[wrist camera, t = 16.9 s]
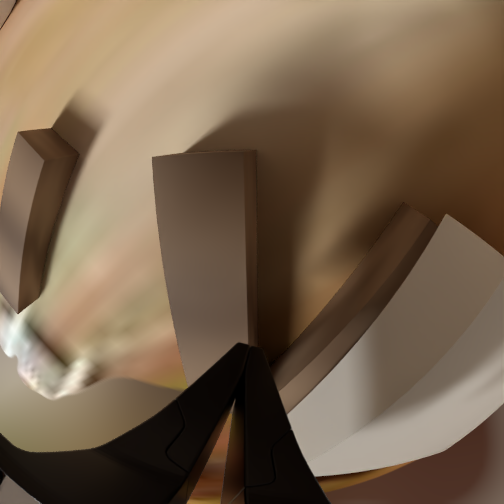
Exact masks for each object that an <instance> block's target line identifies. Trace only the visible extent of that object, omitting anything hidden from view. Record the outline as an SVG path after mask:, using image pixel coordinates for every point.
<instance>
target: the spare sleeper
mask: <svg viewBox="0 0 504 504" xmlns="http://www.w3.org/2000/svg"><path fill="white" fill-rule="evenodd" d="M79 155H80V154H79V153H78V152H77V151H76V150H75V149H73V148H72V147H71V146H70V145H69V144H68V143H67V142H66V141H65V140H63V139H62V138H61V137H60V136H59V135H58V134H57V133H56V132H55V131H54V130H53V129H51V128H48V129H37V130H28V131H20V132H18V133H17V136H16V139H15V143H14V146H13V150H12V154H11V157H10V161H9V165H8V170H7V174H6V179H5V184H4V189H3V195H2V201H1V208H0V292H1V294H2V295H3V296H4V298H5V299H6V300H7V302H8V303H9V304H10V305H11V307H12V308H13V309H14V310H15V311H16V313H17V314H19V313H20V312H21V311H23V310H24V309H25V308H26V307H28V306H29V305H30V304H31V303H33V302H34V301H35V300H37V299H38V298H39V294H40V287H41V281H42V276H43V271H44V266H45V261H46V256H47V252H48V248H49V244H50V240H51V236H52V232H53V228H54V225H55V221H56V218H57V215H58V211H59V208H60V205H61V202H62V199H63V196H64V193H65V190H66V188H67V185H68V182H69V179H70V177H71V174H72V172H73V169H74V167H75V164H76V162H77V159H78V157H79Z"/></svg>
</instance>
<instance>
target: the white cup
mask: <svg viewBox="0 0 504 504" xmlns="http://www.w3.org/2000/svg"><path fill="white" fill-rule="evenodd" d="M15 2H16V0H0V28H1V27H2V25H3V24H4V22H5V21H6V19H7V17H8V15H9V14H10V12H11V10H12V8H13V6H14V4H15Z"/></svg>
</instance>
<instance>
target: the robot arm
mask: <svg viewBox="0 0 504 504" xmlns="http://www.w3.org/2000/svg"><path fill="white" fill-rule="evenodd" d="M234 401H235V402H234ZM233 404H234V406H233ZM232 406H233V413H232V420H231V428H230V436H229V443H228V451H227V458H226V466H225V473H224V481H223V488H222V496H221V504H331V502H330V501H329V500H328V498H327V497H326V495H325V493H324V492H323V490H322V488H321V486H320V485H319V483H318V481H317V480H316V478H315V476H314V474H313V473H312V471H311V469H310V467H309V465H308V464H307V462H306V460H305V458H304V456H303V454H302V452H301V449H300V447H299V445H298V442H297V440H296V437H295V435H294V432H293V430H291V429H292V427H291V424H290V422H289V419H288V416H287V413H286V411H285V408H284V405H283V403H282V400H281V397H280V394H279V392H278V389H277V386H276V383H275V381H274V378H273V375H272V372H271V369H270V367H269V364H268V361H267V358H266V355H265V352H264V350H263V348H260V347H256V346H250V345H248V344H245V343H241V342H238V343H236V344H235V345H234V346H233V347H232V348H231V349H230V350H229V351H228V352H227V353H226V354H224V355H223V356H222V357H221V358H220V359H219V360H218V361H217V362H216V363H215V364H214V365H212V366H211V367H210V368H209V369H208V370H207V371H206V372H205V373H204V374H203V375H201V376H200V377H199V378H198V379H197V380H196V381H195V382H194V383H192V384H191V385H190V386H189V387H188V388H187V389H186V390H184V391H183V392H182V393H181V394H180V395H179V396H178V397H176V400H173V401H171V402H170V403H169V404H168V405H167V406H166V407H164V408H163V409H162V410H161V411H159V412H158V413H157V414H155V415H154V416H152V417H151V418H149V419H148V420H146V421H145V422H143V423H141V424H140V425H138V426H136V427H135V428H133V429H132V430H129V431H128V432H126V433H124V434H122V435H121V436H119V437H117V438H115V439H113V440H112V441H110V442H108V443H106V444H104V445H101V446H98V447H95V448H91V449H85V450H73V451H60V452H29V451H25V450H22V449H20V448H17V447H16V446H14V445H13V444H12V443H11V442H10V441H8V440H7V439H6V438H5V437H4V436H3V435H2V434H1V433H0V504H186V503H187V501H188V500H189V498H190V496H191V494H192V492H193V490H194V488H195V486H196V484H197V482H198V480H199V478H200V476H201V474H202V471H203V469H204V467H205V465H206V463H207V461H208V459H209V457H210V455H211V453H212V451H213V448H214V446H215V444H216V442H217V440H218V438H219V436H220V433H221V431H222V429H223V427H224V425H225V422H226V420H227V418H228V416H229V414H230V411H231V409H232Z"/></svg>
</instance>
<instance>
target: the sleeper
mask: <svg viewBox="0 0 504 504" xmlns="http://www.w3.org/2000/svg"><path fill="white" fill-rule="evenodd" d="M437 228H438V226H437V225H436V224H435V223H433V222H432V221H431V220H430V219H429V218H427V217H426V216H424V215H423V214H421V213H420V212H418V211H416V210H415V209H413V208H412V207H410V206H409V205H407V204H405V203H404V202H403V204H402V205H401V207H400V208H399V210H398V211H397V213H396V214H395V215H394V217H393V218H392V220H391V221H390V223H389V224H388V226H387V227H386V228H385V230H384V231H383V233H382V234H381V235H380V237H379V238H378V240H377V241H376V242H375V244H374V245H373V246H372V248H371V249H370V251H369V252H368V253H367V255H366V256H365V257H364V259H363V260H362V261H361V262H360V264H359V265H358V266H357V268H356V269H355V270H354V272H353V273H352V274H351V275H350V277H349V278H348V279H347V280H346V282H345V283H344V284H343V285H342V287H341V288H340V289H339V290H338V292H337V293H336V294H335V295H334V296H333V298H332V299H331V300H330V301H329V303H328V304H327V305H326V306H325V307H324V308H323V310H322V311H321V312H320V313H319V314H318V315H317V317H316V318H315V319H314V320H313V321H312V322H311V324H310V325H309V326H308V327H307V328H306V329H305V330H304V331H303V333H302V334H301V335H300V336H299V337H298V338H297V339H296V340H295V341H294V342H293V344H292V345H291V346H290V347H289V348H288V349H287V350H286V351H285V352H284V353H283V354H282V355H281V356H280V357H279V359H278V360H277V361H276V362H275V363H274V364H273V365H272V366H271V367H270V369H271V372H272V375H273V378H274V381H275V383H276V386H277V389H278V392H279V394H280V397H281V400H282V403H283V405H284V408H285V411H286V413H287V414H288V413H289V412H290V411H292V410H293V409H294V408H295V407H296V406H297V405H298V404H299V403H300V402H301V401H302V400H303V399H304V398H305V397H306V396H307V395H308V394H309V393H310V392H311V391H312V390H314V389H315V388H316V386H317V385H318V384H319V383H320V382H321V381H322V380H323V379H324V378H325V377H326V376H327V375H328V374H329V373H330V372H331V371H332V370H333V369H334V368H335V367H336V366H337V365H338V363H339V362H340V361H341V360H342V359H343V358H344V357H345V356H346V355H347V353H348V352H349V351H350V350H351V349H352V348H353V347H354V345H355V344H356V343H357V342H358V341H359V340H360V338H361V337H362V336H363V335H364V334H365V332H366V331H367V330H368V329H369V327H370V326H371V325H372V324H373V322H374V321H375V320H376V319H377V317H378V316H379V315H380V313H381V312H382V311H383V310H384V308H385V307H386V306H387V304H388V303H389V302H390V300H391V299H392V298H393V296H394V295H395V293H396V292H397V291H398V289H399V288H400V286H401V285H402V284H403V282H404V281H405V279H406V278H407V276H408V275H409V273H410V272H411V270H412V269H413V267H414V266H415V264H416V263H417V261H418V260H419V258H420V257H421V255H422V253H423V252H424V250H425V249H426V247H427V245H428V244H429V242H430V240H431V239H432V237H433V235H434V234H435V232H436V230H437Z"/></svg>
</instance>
